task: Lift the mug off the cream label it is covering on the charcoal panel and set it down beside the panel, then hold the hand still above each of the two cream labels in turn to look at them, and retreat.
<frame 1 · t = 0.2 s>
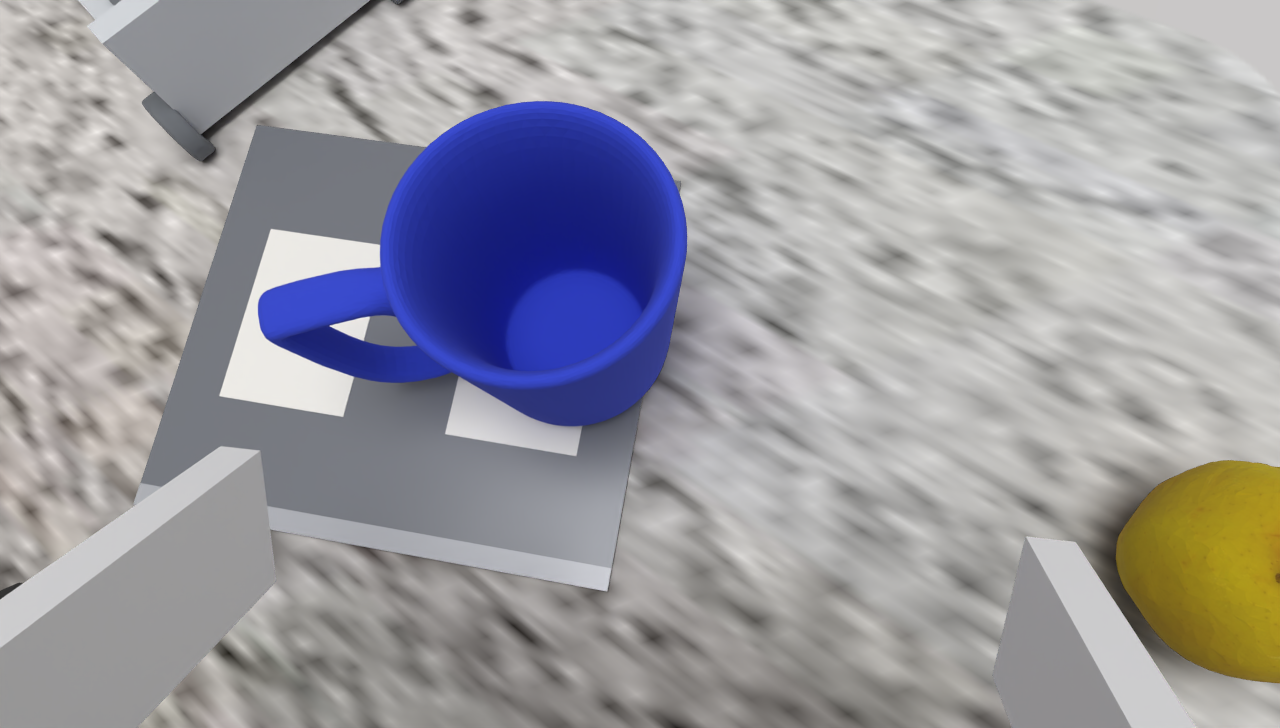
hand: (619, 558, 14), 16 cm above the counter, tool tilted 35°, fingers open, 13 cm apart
label panel: (418, 338, 32), on the counter
mug: (530, 356, 32), resting on label panel
apple: (1168, 572, 29), on the counter
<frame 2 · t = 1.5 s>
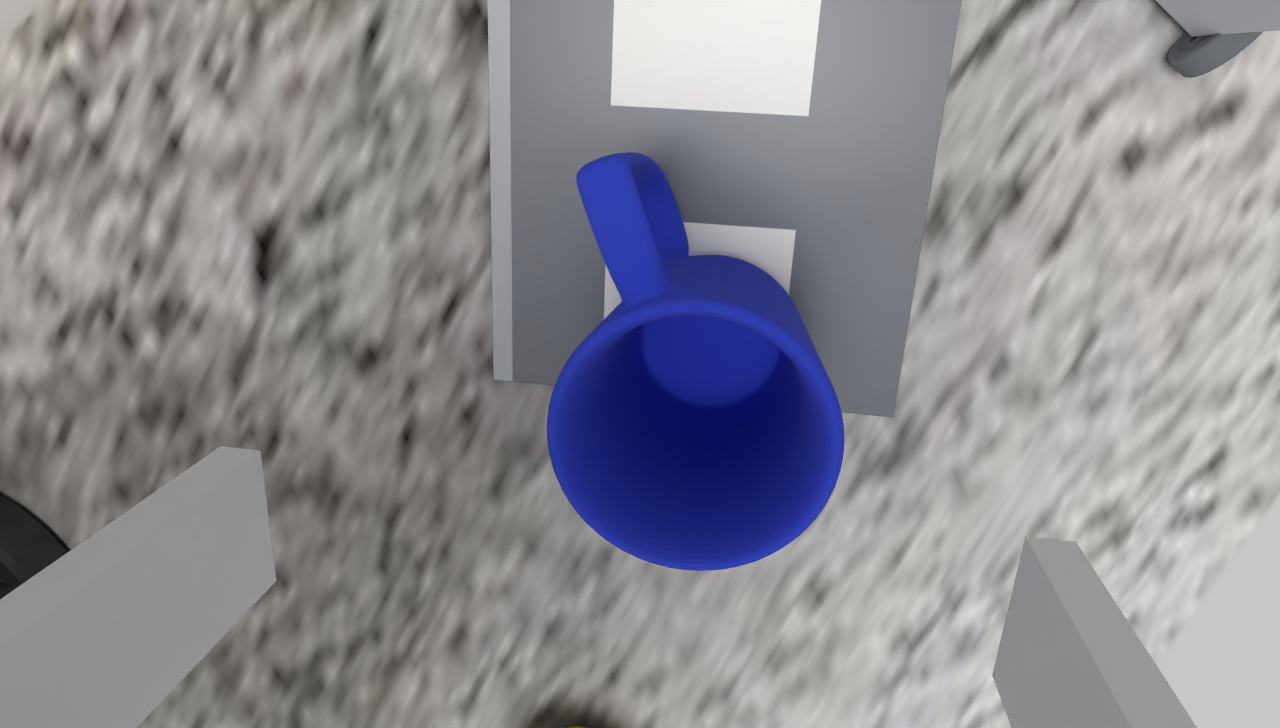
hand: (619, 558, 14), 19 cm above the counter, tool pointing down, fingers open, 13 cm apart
label panel: (704, 167, 30), on the counter
mug: (695, 287, 32), resting on label panel
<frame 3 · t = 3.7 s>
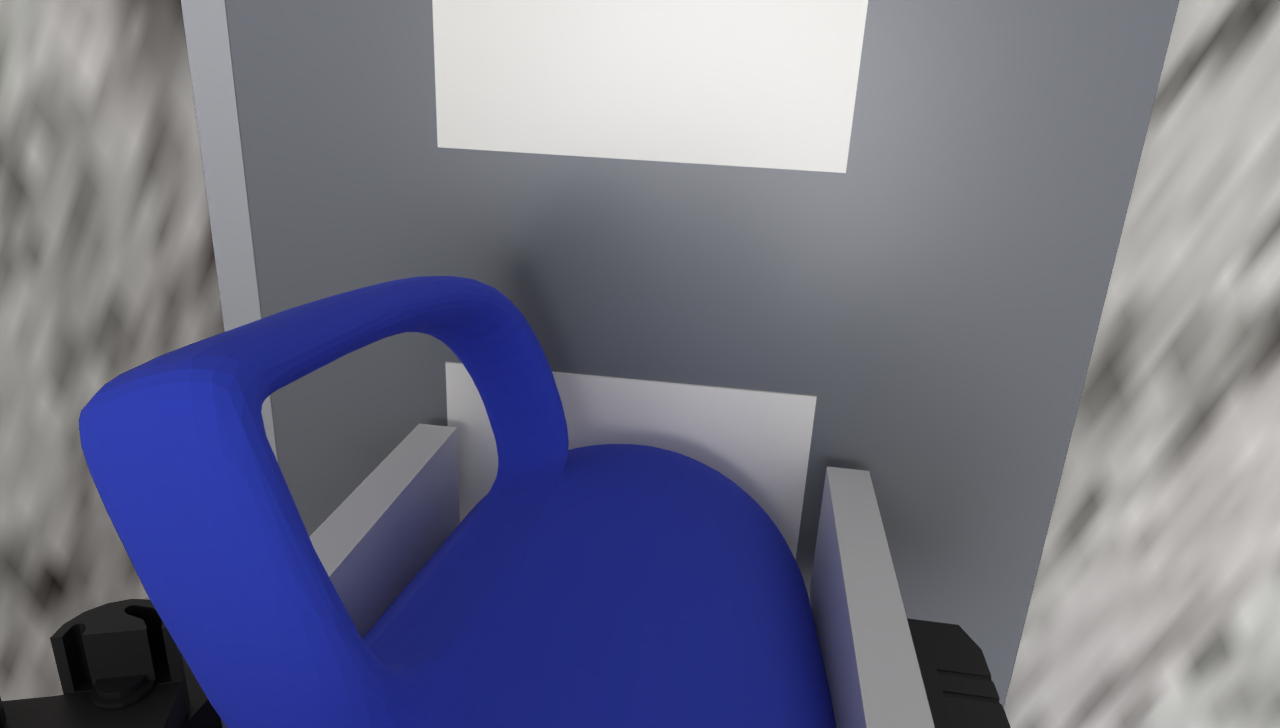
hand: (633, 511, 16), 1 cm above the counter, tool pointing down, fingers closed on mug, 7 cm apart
label panel: (633, 271, 15), on the counter
mug: (602, 488, 16), resting on label panel, touching gripper
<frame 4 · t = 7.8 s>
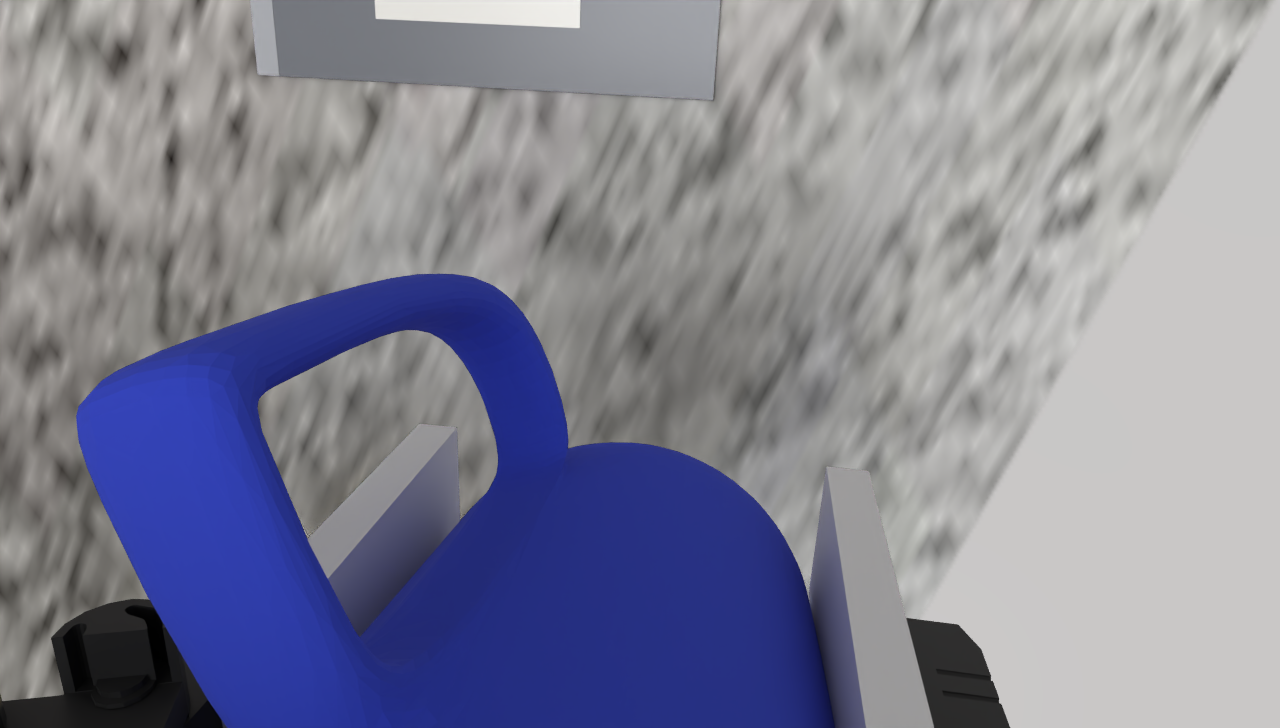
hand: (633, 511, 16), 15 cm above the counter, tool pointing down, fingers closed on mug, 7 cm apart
mug: (603, 486, 17), point 14 cm above the counter, touching gripper
when the fingers open (1 cm above the counter, at t = 11.6 s): mug stays where it is, on the counter.
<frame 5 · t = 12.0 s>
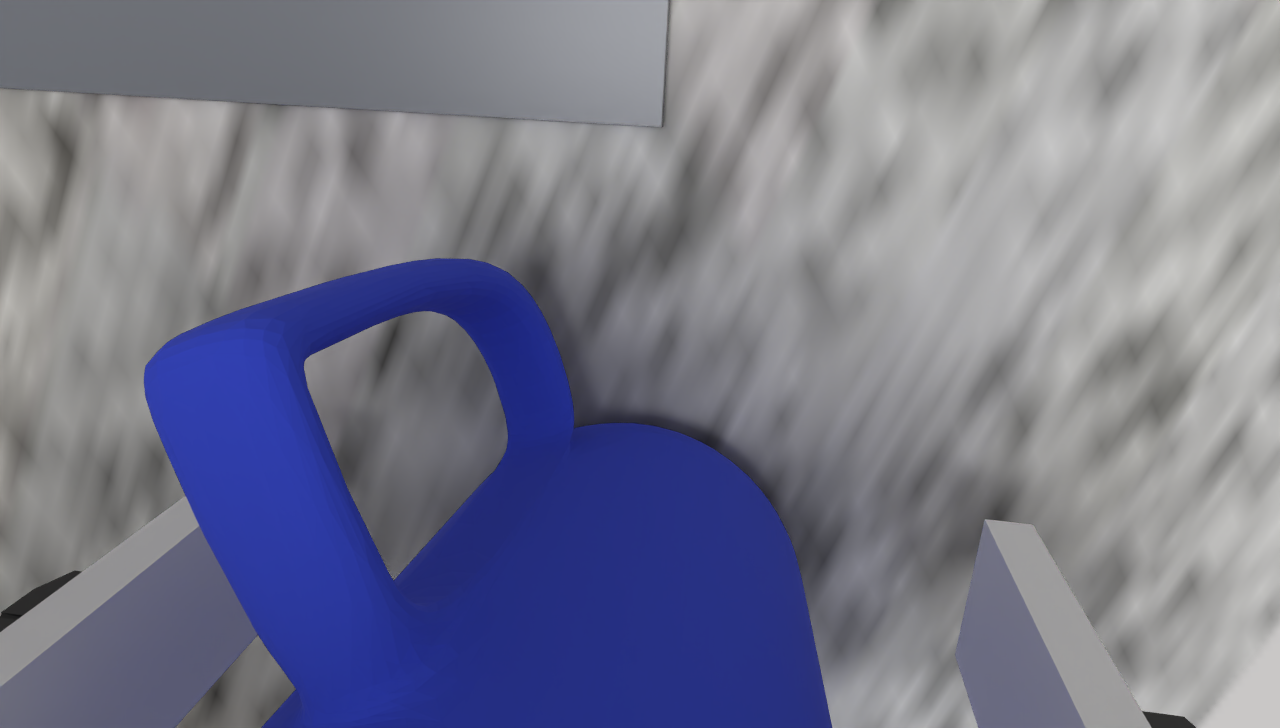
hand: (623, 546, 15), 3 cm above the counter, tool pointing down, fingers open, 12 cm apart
mug: (605, 466, 17), on the counter
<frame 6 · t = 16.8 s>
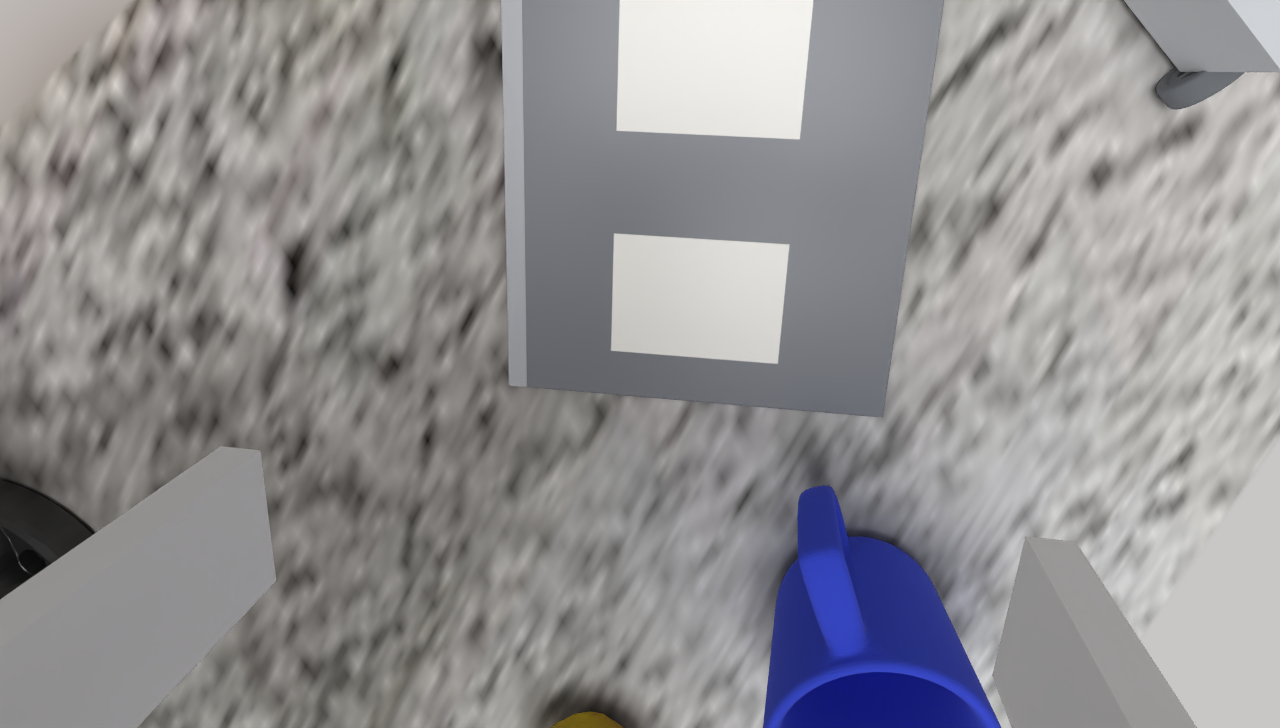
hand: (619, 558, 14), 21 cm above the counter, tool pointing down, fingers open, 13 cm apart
label panel: (704, 187, 32), on the counter
mug: (841, 553, 37), on the counter
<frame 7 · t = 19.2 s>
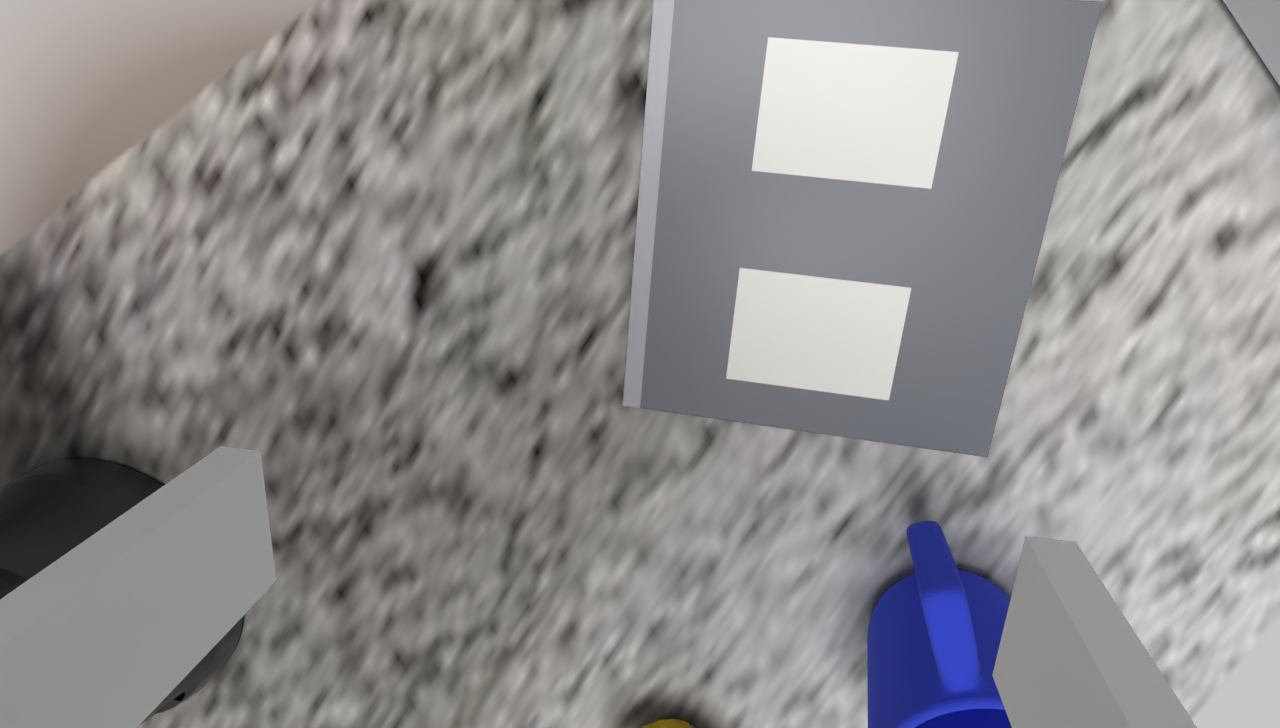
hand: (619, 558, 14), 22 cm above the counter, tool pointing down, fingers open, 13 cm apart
label panel: (831, 228, 34), on the counter
mug: (933, 583, 39), on the counter
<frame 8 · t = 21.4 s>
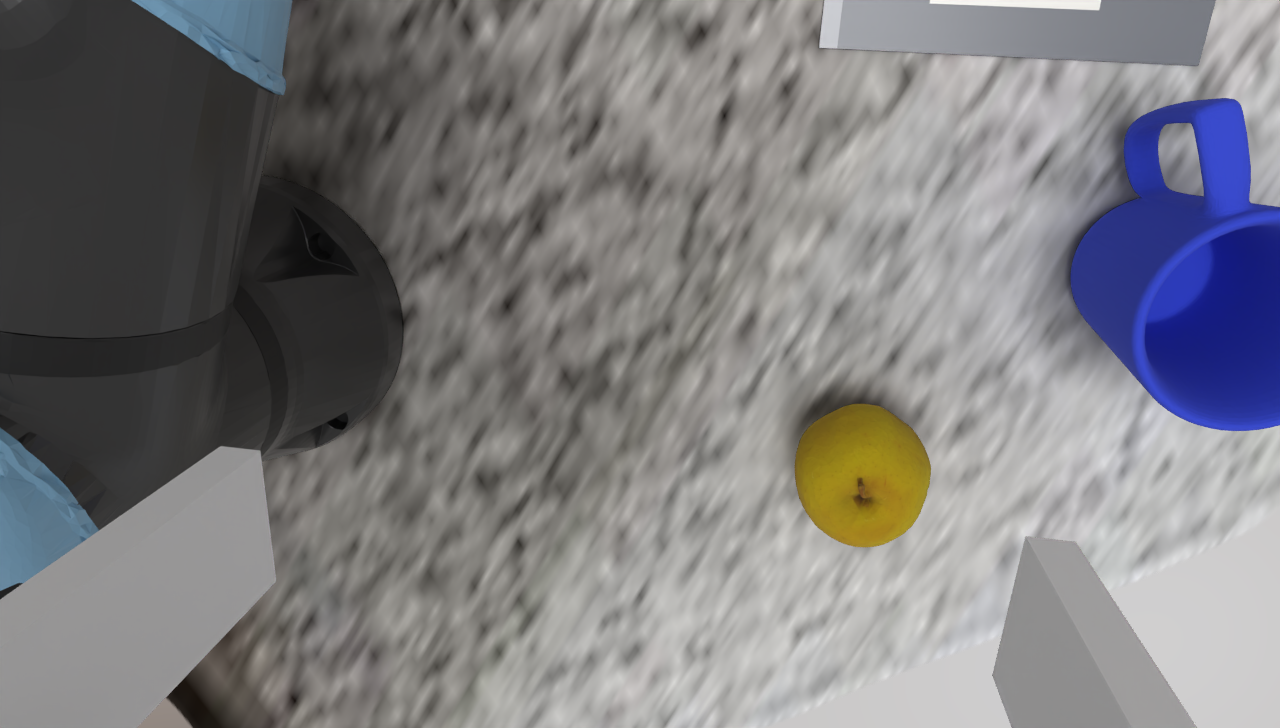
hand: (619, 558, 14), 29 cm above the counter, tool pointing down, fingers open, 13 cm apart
mug: (1132, 224, 38), on the counter
apple: (851, 435, 44), on the counter
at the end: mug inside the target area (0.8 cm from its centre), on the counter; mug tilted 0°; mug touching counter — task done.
